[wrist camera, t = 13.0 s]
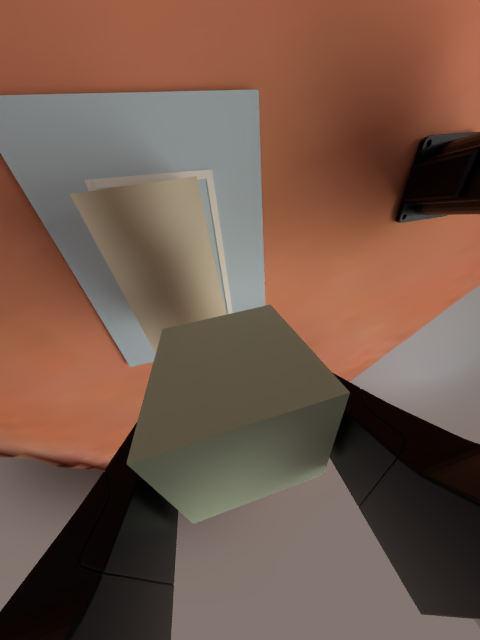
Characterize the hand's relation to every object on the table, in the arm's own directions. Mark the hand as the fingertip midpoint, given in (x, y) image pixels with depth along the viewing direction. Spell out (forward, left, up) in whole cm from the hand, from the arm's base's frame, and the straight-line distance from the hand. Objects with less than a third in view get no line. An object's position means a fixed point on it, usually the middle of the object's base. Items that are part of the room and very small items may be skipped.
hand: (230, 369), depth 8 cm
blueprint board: (+2, -3, -11) cm, 12 cm away
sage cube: (0, 0, -1) cm, 1 cm away
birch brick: (+2, -3, -11) cm, 11 cm away
